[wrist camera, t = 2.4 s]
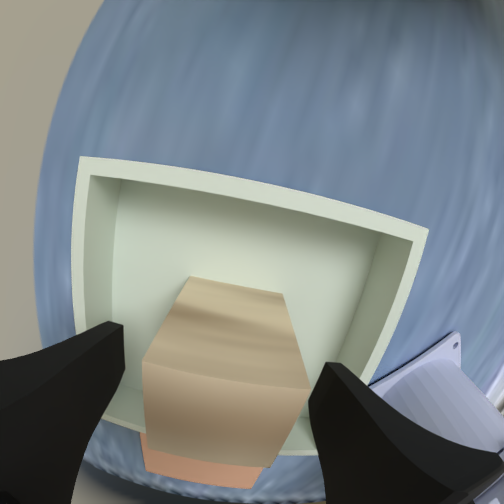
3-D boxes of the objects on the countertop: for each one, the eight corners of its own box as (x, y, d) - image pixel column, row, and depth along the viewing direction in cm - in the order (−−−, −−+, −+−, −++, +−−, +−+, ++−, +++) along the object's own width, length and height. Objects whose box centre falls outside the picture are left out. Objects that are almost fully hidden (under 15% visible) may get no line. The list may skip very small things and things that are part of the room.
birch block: (262, 365, 12) (269, 467, 7) (181, 351, 12) (147, 448, 6) (282, 293, 12) (311, 389, 6) (190, 275, 11) (141, 360, 5)
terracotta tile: (250, 484, 17) (250, 488, 16) (147, 466, 16) (146, 470, 15) (279, 431, 14) (279, 437, 14) (139, 406, 14) (137, 412, 13)
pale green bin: (313, 419, 14) (322, 454, 11) (111, 382, 13) (92, 415, 10) (391, 217, 11) (429, 229, 8) (116, 160, 10) (80, 156, 7)
